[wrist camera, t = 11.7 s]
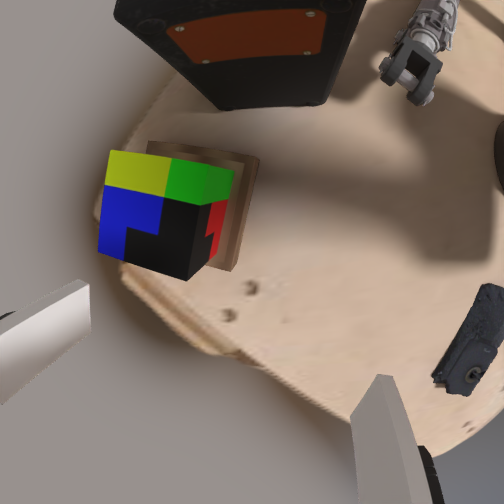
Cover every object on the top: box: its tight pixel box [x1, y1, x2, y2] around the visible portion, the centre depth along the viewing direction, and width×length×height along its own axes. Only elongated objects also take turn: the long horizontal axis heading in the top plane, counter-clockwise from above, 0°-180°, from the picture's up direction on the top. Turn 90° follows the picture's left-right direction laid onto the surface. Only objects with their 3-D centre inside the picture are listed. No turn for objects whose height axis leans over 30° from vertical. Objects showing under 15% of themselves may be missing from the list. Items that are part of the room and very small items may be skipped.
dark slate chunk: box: [432, 284, 504, 397], centre depth 33 cm, size 15×22×5 cm
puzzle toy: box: [98, 150, 235, 281], centre depth 27 cm, size 10×10×10 cm
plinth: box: [146, 141, 259, 272], centre depth 34 cm, size 14×14×4 cm
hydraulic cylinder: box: [379, 0, 460, 106], centre depth 20 cm, size 7×37×10 cm, turn 149°
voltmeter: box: [113, 0, 367, 111], centre depth 19 cm, size 16×9×25 cm, turn 93°
